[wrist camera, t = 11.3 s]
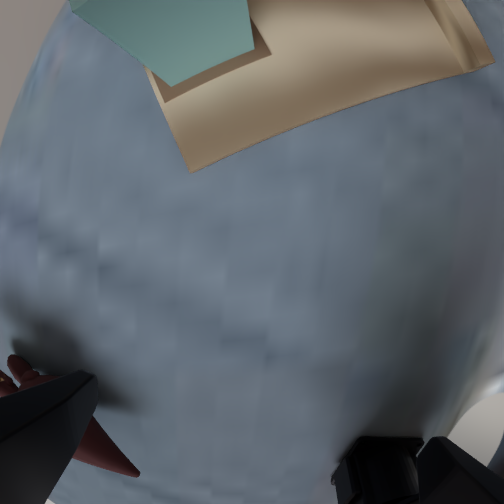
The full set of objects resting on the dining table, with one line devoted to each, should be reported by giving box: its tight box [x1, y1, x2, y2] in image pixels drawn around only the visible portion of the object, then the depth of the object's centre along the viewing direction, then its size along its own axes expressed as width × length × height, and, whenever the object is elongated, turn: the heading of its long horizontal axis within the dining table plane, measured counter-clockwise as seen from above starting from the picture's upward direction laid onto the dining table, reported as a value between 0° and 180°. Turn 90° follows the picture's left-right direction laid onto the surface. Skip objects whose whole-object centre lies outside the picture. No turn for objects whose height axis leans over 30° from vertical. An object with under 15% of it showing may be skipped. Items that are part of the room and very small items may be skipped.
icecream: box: [0, 354, 140, 478], centre depth 19 cm, size 7×7×15 cm
